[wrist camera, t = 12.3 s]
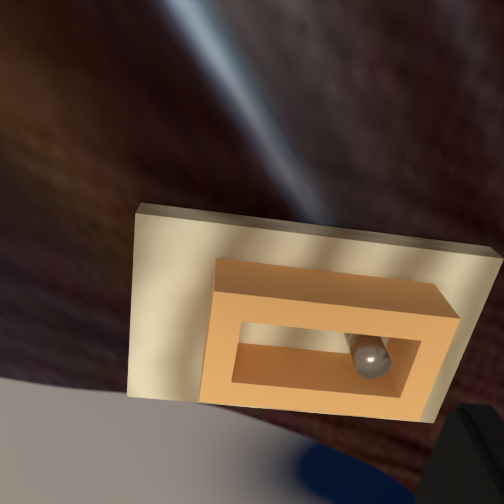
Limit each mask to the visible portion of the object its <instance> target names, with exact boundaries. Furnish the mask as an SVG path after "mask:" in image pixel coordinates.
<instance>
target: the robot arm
mask: <svg viewBox="0 0 504 504" xmlns="http://www.w3.org/2000/svg"><path fill="white" fill-rule="evenodd" d="M415 504H504V423H503V421H502V420H501V418H500V416H499V415H498V413H497V411H496V410H495V409H494V408H493V407H492V406H490V405H482V404H468V403H460V404H459V405H458V406H457V407H456V409H455V410H450V411H449V412H448V414H447V417H446V419H445V422H444V424H443V427H442V429H441V432H440V434H439V437H438V440H437V442H436V445H435V447H434V450H433V452H432V455H431V457H430V460H429V462H428V465H427V468H426V470H425V473H424V475H423V478H422V480H421V483H420V485H419V488H418V490H417V493H416V496H415Z"/></svg>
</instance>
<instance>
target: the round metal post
mask: <svg viewBox="0 0 504 504" xmlns="http://www.w3.org/2000/svg"><path fill="white" fill-rule="evenodd" d="M343 333H344V332H343ZM344 336H345V339H346V342H347V344H348V347H349V350H350V353H351V356H352V359H353V362H354V365H355V367H356V370H357V372H358V374H359V375H360V376H362V377H364V378H367V379H376V378H379V377H382V376H383V375H385V374H386V373H387V372H388V371H389V369H390V367H391V359H390V356H389V354H388V352H387V350H386V348H385V346H384V343H383V341H382V339H381V337H380V336H372V335H363V334H353V333H344Z"/></svg>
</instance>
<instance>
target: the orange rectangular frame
mask: <svg viewBox="0 0 504 504" xmlns="http://www.w3.org/2000/svg"><path fill="white" fill-rule="evenodd" d="M460 320H461V318H460V317H459V316H458V315H457V313H456V312H455V311H454V309H453V308H452V307H451V305H450V304H449V303H448V301H447V300H446V299H445V297H444V296H443V295H442V293H441V292H440V291H439V289H438V288H437V287H436V285H435V284H432V283H423V282H415V281H407V280H398V279H390V278H381V277H373V276H364V275H356V274H348V273H339V272H331V271H322V270H314V269H306V268H297V267H289V266H280V265H272V264H264V263H255V262H247V261H238V260H230V259H221V258H216V263H215V270H214V278H213V285H212V293H211V300H210V308H209V315H208V323H207V330H206V338H205V345H204V352H203V360H202V371H201V383H200V394H199V402H206V403H217V404H228V405H240V406H251V407H262V408H274V409H285V410H296V411H307V412H319V413H330V414H341V415H353V416H364V417H375V418H387V419H398V420H409V421H419V419H420V417H421V414H422V412H423V410H424V407H425V405H426V402H427V400H428V397H429V395H430V393H431V390H432V388H433V385H434V383H435V380H436V378H437V375H438V373H439V371H440V368H441V366H442V363H443V361H444V358H445V356H446V354H447V351H448V349H449V346H450V344H451V341H452V339H453V337H454V334H455V332H456V329H457V327H458V324H459V322H460ZM241 322H250V323H259V324H269V325H278V326H287V327H297V328H306V329H316V330H325V331H334V332H344V333H353V334H363V335H372V336H382V337H389V339H388V342H387V345H386V350H387V352H388V354H389V356H390V359H391V367H390V369H389V371H388V372H387V373H386V374H385V375H383V376H382V377H379V378H376V379H367V378H364V377H362V376H360V375H359V374H358V372H357V370H356V367H355V365H354V362H353V359H352V356H351V354H346V353H336V352H326V351H316V350H306V349H297V348H287V347H277V346H267V345H257V344H247V343H238V340H239V334H240V328H241Z"/></svg>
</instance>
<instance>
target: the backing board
mask: <svg viewBox="0 0 504 504" xmlns="http://www.w3.org/2000/svg"><path fill="white" fill-rule="evenodd" d="M216 258H221V259H230V260H238V261H247V262H255V263H264V264H272V265H280V266H289V267H297V268H306V269H314V270H322V271H331V272H339V273H348V274H356V275H364V276H373V277H381V278H390V279H398V280H407V281H415V282H423V283H432V284H435V285H436V287H437V288H438V289H439V291H440V292H441V293H442V295H443V296H444V297H445V299H446V300H447V301H448V303H449V304H450V305H451V307H452V308H453V309H454V311H455V312H456V313H457V315H458V316H459V317H460V318H461V320H460V322H459V324H458V327H457V329H456V332H455V334H454V337H453V339H452V341H451V344H450V346H449V349H448V351H447V354H446V356H445V358H444V361H443V363H442V366H441V368H440V371H439V373H438V375H437V378H436V380H435V383H434V385H433V388H432V390H431V393H430V395H429V397H428V400H427V402H426V405H425V407H424V410H423V412H422V414H421V417H420V419H419V421H416V422H428V423H434V421H435V419H436V416H437V414H438V411H439V409H440V407H441V404H442V402H443V400H444V397H445V395H446V393H447V390H448V388H449V386H450V383H451V381H452V379H453V376H454V374H455V372H456V369H457V367H458V365H459V362H460V360H461V358H462V355H463V353H464V351H465V348H466V346H467V344H468V341H469V339H470V337H471V334H472V332H473V330H474V327H475V325H476V323H477V320H478V318H479V316H480V313H481V311H482V308H483V306H484V304H485V301H486V299H487V297H488V294H489V292H490V290H491V287H492V285H493V283H494V280H495V278H496V276H497V273H498V271H499V269H500V266H501V264H502V262H503V258H502V257H501V256H500V255H499V254H498V253H497V252H496V251H494V250H493V249H492V248H491V247H489V246H481V245H473V244H465V243H457V242H449V241H441V240H433V239H425V238H417V237H410V236H402V235H394V234H386V233H378V232H370V231H362V230H354V229H346V228H338V227H330V226H322V225H314V224H307V223H299V222H291V221H283V220H275V219H267V218H259V217H251V216H243V215H235V214H227V213H219V212H211V211H203V210H196V209H188V208H180V207H172V206H164V205H156V204H148V203H140V205H139V207H138V209H137V211H136V213H135V235H134V257H133V278H132V300H131V321H130V343H129V364H128V386H127V396H129V397H139V398H150V399H162V400H173V401H185V402H197V403H206V402H199V394H200V383H201V371H202V360H203V352H204V345H205V338H206V330H207V323H208V315H209V308H210V300H211V293H212V285H213V278H214V270H215V263H216ZM380 337H381V339H382V341H383V343H384V346H385V348H386V345H387V342H388V339H389V337H382V336H380ZM238 343H247V344H257V345H267V346H277V347H287V348H297V349H306V350H316V351H326V352H336V353H346V354H351V353H350V350H349V347H348V344H347V342H346V339H345V336H344V333H343V332H334V331H325V330H316V329H306V328H297V327H287V326H278V325H269V324H259V323H250V322H241V328H240V334H239V340H238ZM208 404H217V403H208ZM220 405H228V404H220ZM231 406H240V405H231ZM243 407H251V406H243ZM254 408H262V407H254ZM266 409H274V408H266ZM277 410H285V409H277ZM289 411H296V410H289ZM300 412H307V411H300ZM312 413H319V412H312ZM324 414H330V413H324ZM335 415H341V414H335ZM347 416H353V415H347ZM358 417H364V416H358ZM370 418H375V417H370ZM381 419H387V418H381ZM393 420H398V419H393ZM404 421H409V420H404Z"/></svg>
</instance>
